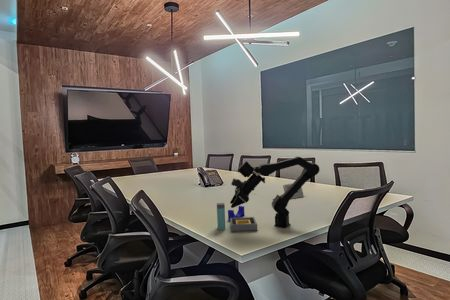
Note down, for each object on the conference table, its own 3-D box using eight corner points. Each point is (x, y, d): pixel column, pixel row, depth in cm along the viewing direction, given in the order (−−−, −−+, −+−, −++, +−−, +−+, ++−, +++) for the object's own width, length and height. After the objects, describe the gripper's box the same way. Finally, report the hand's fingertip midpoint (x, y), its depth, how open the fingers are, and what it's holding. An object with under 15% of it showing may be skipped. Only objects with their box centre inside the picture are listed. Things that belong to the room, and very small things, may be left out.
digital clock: (286, 199, 217) (285, 185, 217) (280, 197, 226) (280, 183, 225) (306, 197, 221) (305, 183, 221) (300, 195, 230) (299, 182, 230)
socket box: (254, 223, 163) (253, 216, 163) (257, 230, 150) (257, 223, 150) (230, 224, 162) (230, 218, 162) (231, 232, 149) (231, 225, 149)
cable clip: (234, 221, 168) (234, 211, 168) (228, 220, 171) (227, 210, 170) (246, 216, 177) (246, 206, 177) (240, 215, 180) (240, 205, 180)
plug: (225, 227, 158) (224, 202, 157) (225, 229, 154) (224, 204, 153) (217, 227, 158) (216, 203, 157) (217, 229, 154) (216, 204, 153)
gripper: (238, 170, 164) (219, 191, 164) (241, 175, 145) (219, 198, 146) (253, 184, 165) (234, 205, 165) (258, 190, 146) (236, 213, 146)
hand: (230, 205), depth 155 cm, fingers open, 9 cm apart
